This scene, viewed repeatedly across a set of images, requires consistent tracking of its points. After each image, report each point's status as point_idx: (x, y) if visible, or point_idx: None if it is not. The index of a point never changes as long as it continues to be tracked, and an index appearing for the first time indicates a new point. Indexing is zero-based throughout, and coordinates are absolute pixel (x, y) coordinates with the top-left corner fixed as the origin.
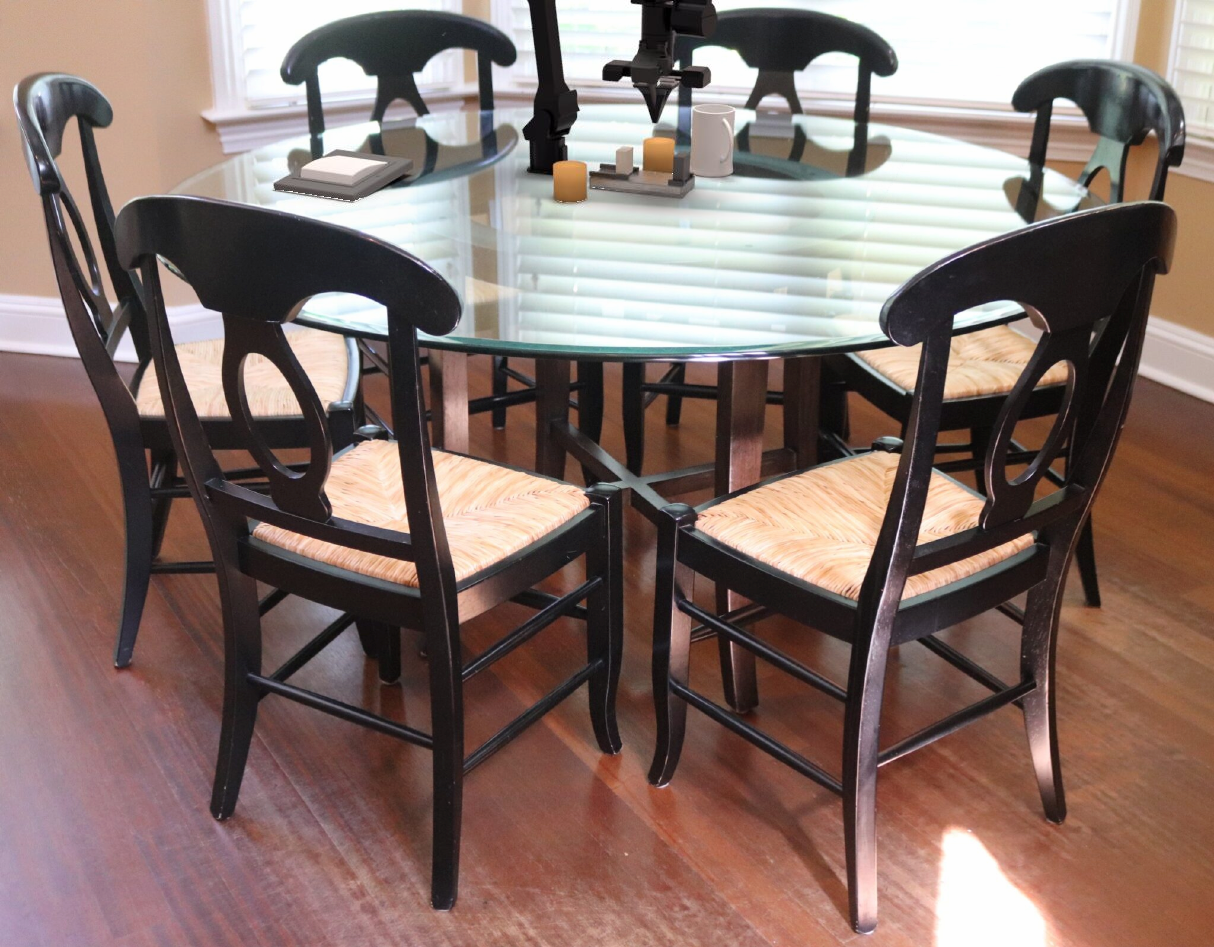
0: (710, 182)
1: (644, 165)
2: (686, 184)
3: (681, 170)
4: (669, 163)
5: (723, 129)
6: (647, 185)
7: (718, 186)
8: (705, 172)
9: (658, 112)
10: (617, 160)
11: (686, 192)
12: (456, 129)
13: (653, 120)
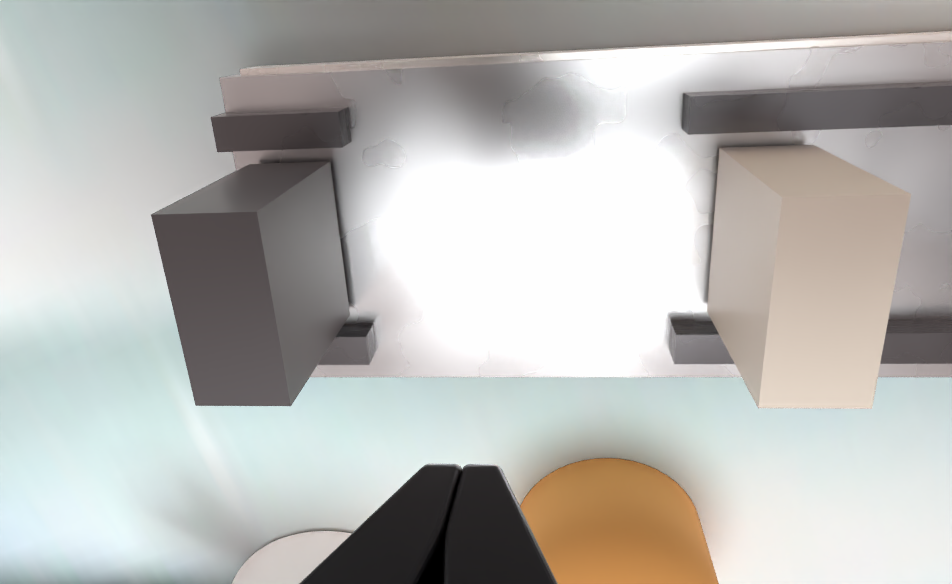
0: (257, 451)
1: (685, 517)
2: None
3: (225, 182)
4: None
5: None
6: (498, 56)
7: (183, 396)
8: (319, 548)
9: (325, 573)
10: (848, 173)
11: None
12: None
13: (470, 484)
